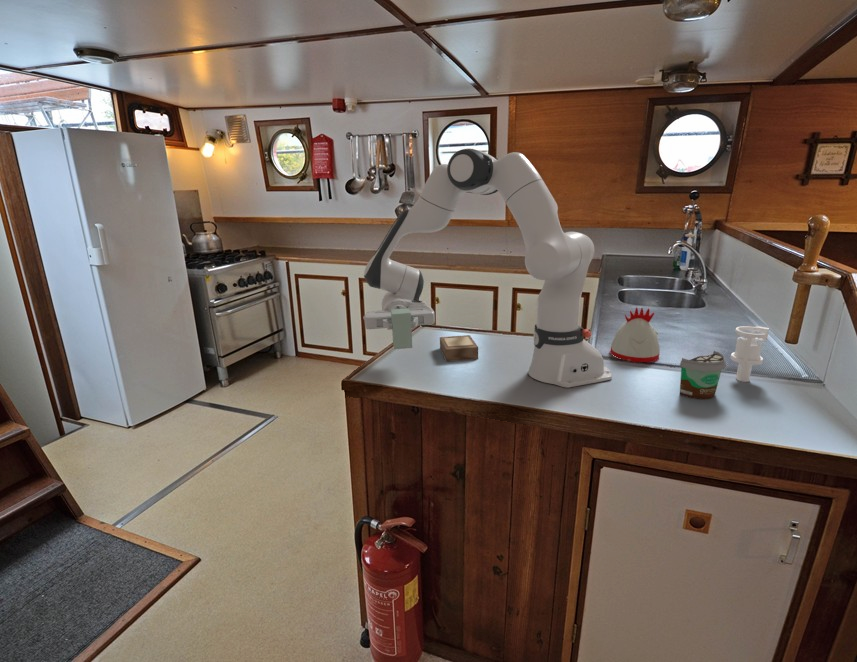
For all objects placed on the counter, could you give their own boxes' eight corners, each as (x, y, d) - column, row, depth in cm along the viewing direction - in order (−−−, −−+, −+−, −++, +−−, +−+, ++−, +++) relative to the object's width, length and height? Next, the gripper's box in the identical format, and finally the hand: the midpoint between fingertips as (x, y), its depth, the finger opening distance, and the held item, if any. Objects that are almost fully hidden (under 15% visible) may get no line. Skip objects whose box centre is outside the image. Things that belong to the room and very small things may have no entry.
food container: (697, 405, 114) (703, 366, 111) (675, 395, 120) (680, 358, 117) (732, 395, 119) (738, 358, 116) (709, 386, 124) (715, 350, 121)
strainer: (757, 387, 123) (768, 331, 118) (725, 380, 127) (735, 327, 123) (759, 378, 128) (770, 324, 124) (729, 372, 132) (738, 320, 128)
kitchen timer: (664, 364, 140) (670, 314, 135) (614, 361, 142) (619, 313, 138) (652, 348, 153) (658, 302, 148) (607, 346, 155) (611, 301, 151)
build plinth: (469, 346, 158) (469, 334, 157) (478, 359, 147) (478, 346, 146) (439, 348, 157) (439, 336, 156) (446, 361, 146) (446, 348, 145)
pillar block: (410, 342, 136) (408, 308, 133) (412, 347, 132) (410, 312, 129) (393, 343, 136) (390, 309, 133) (394, 349, 131) (392, 314, 128)
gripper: (362, 305, 142) (362, 317, 129) (430, 300, 144) (437, 312, 131) (363, 325, 144) (364, 339, 131) (431, 320, 146) (438, 333, 133)
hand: (401, 325), depth 131 cm, fingers closed on pillar block, 5 cm apart
